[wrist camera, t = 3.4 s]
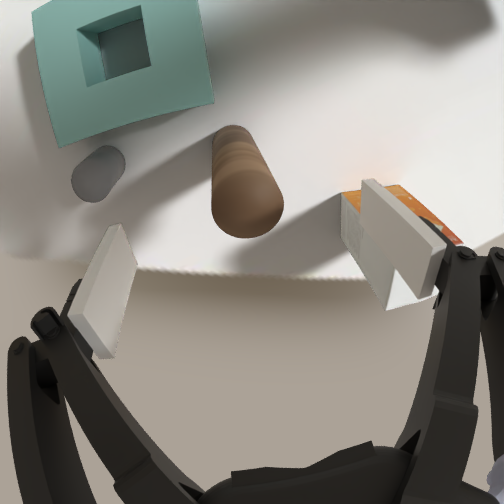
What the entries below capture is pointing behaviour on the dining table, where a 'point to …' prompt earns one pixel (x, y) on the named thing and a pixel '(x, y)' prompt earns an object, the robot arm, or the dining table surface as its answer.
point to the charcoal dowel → (98, 174)
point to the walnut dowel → (242, 186)
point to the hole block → (124, 86)
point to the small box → (371, 256)
